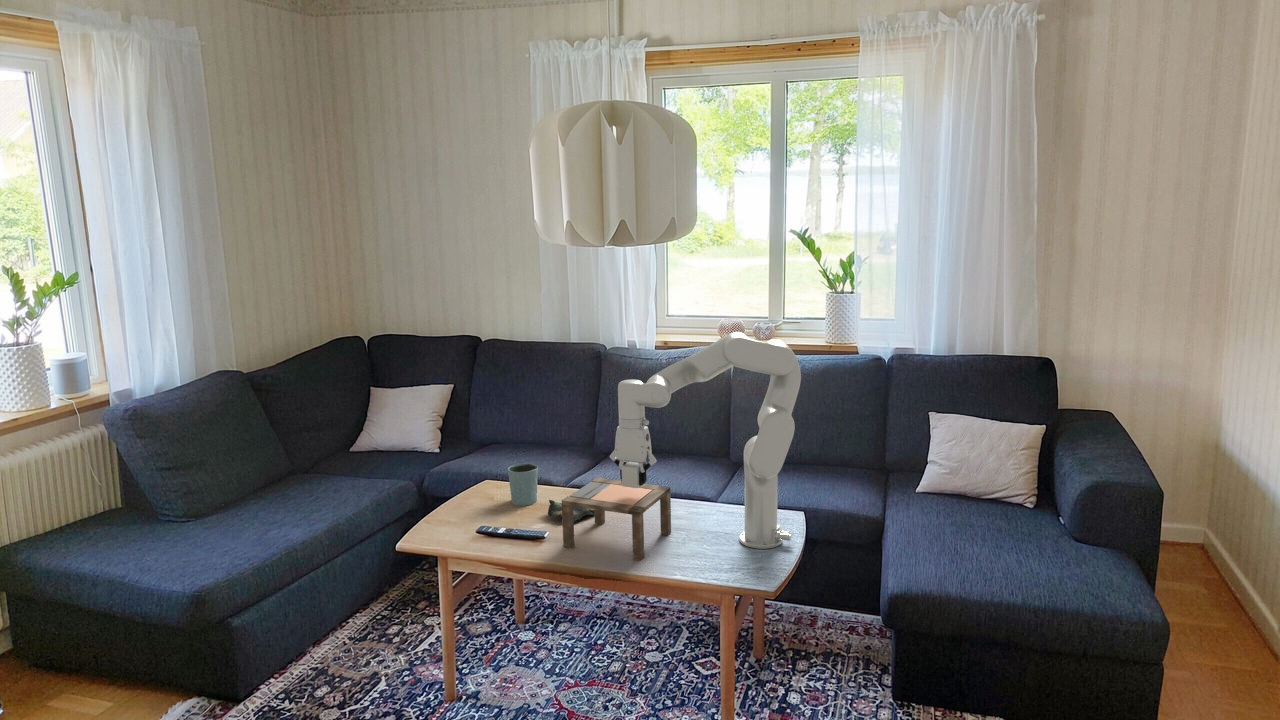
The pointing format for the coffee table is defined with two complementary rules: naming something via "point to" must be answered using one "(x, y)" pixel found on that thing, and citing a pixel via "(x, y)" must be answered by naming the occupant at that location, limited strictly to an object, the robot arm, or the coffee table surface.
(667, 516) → the miniature wooden side table
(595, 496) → the trapdoor
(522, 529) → the coffee table surface
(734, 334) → the robot arm
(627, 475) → the light gray block
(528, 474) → the teal cup
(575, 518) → the decorative rock
